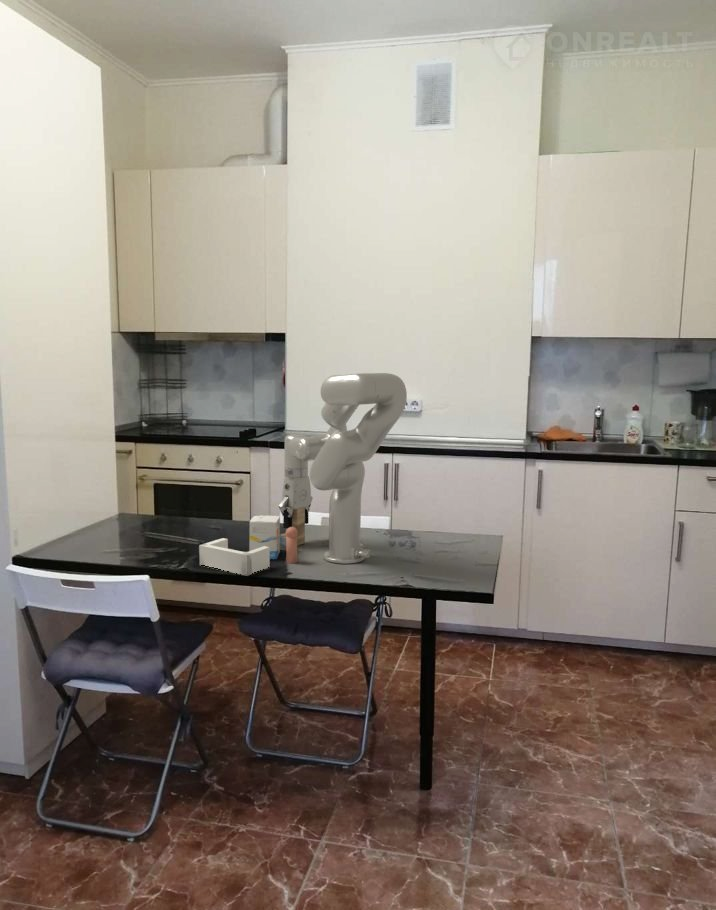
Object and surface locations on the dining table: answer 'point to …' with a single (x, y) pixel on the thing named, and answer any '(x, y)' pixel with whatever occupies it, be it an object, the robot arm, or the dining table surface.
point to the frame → (233, 557)
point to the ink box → (265, 534)
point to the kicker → (297, 523)
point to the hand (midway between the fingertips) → (296, 525)
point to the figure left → (291, 545)
